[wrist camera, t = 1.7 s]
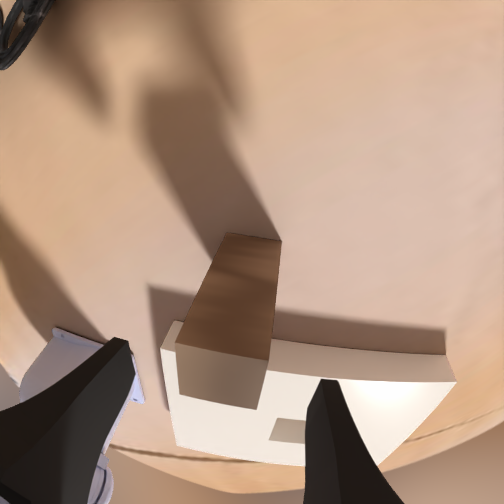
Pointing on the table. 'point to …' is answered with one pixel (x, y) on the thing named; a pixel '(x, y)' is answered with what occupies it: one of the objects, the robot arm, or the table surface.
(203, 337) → the walnut peg
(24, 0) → the milk frother
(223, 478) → the table surface
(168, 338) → the socket base
